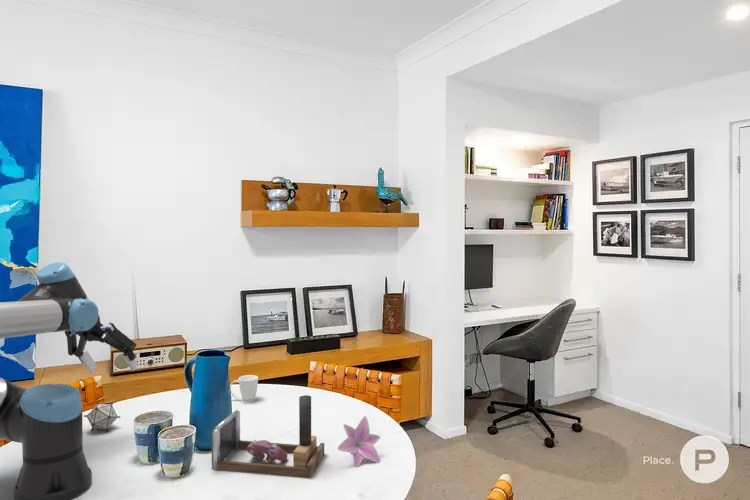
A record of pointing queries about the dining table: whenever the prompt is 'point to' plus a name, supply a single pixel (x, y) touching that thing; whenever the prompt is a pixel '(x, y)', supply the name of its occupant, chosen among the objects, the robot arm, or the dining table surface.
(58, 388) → the robot arm
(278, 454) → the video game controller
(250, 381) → the cup
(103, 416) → the game die
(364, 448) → the lily
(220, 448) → the grey tablet
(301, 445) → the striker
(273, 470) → the brown flat rectangular frame
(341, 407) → the dining table surface
